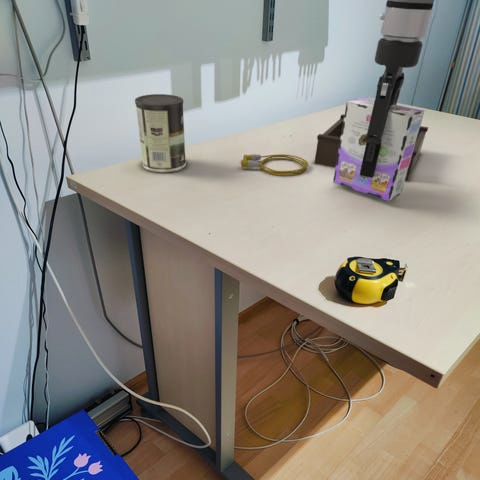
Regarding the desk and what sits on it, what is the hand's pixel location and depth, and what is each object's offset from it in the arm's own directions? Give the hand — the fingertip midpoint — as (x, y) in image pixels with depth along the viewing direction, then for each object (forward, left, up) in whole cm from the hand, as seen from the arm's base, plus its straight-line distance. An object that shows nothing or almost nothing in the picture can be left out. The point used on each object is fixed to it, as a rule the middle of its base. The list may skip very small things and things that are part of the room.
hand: (370, 169), depth 88 cm
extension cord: (+23, -5, -5) cm, 24 cm away
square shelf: (+4, -23, -5) cm, 24 cm away
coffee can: (+46, +8, -5) cm, 47 cm away
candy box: (0, 0, -4) cm, 4 cm away
